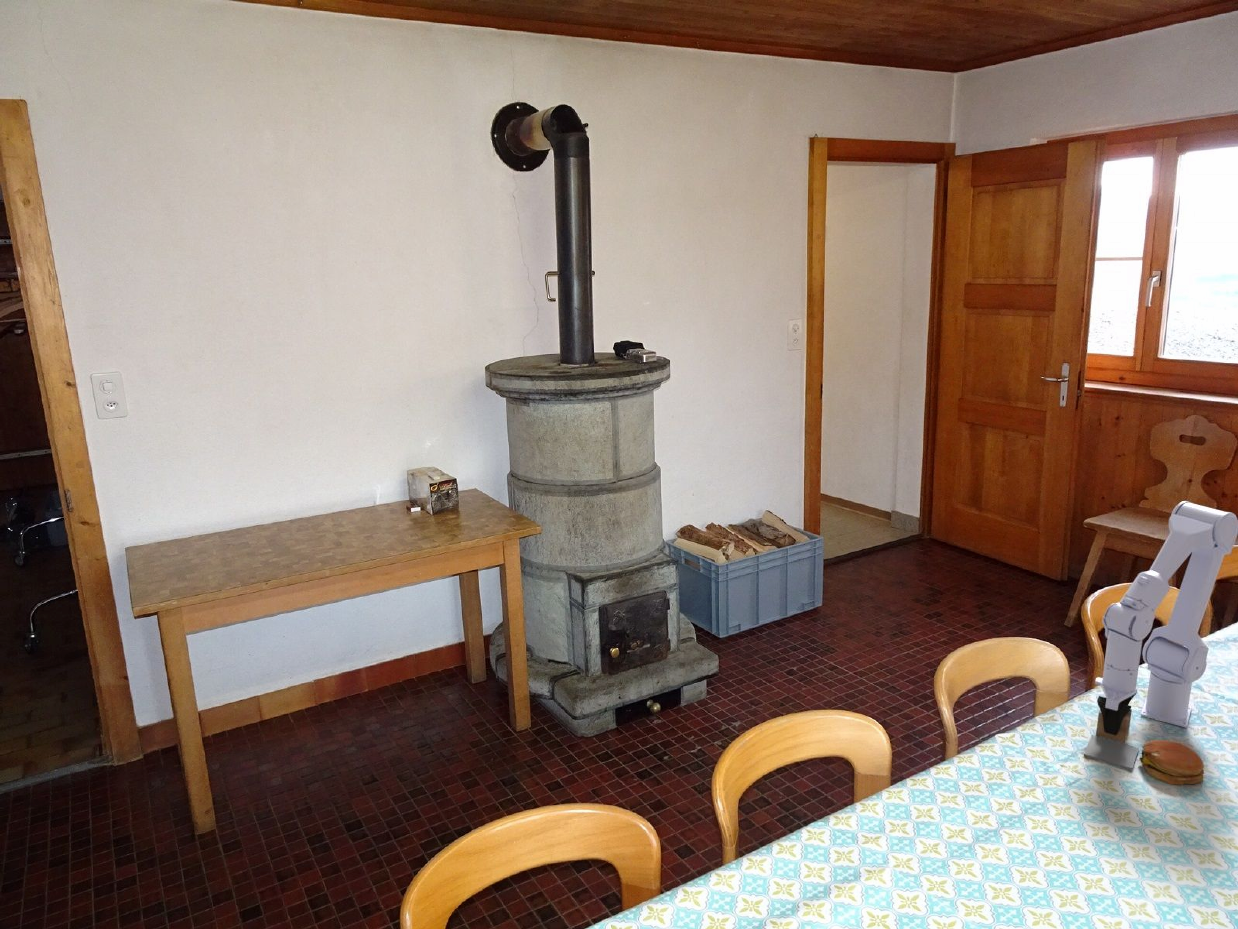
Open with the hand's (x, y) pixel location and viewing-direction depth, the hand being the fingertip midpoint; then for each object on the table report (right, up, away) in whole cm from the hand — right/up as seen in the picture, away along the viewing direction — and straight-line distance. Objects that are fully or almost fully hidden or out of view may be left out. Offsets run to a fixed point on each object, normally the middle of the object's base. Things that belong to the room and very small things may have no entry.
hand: (1113, 726), depth 171 cm
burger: (+4, -5, -12) cm, 13 cm away
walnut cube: (0, -1, 0) cm, 2 cm away
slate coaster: (-4, -3, -6) cm, 8 cm away
